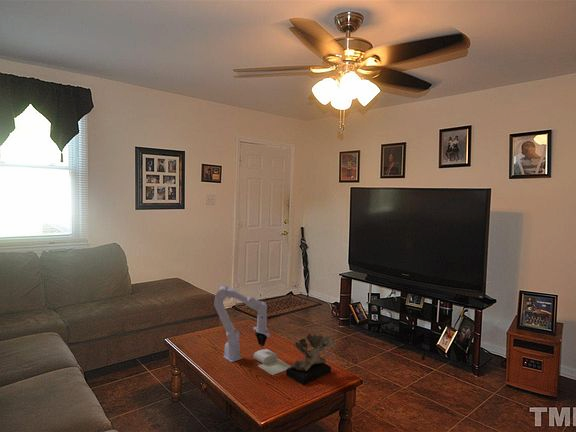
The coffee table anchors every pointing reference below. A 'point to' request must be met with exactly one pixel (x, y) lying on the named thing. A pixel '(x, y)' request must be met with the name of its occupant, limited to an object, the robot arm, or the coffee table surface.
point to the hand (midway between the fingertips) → (261, 345)
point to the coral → (310, 360)
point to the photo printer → (265, 356)
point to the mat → (275, 367)
